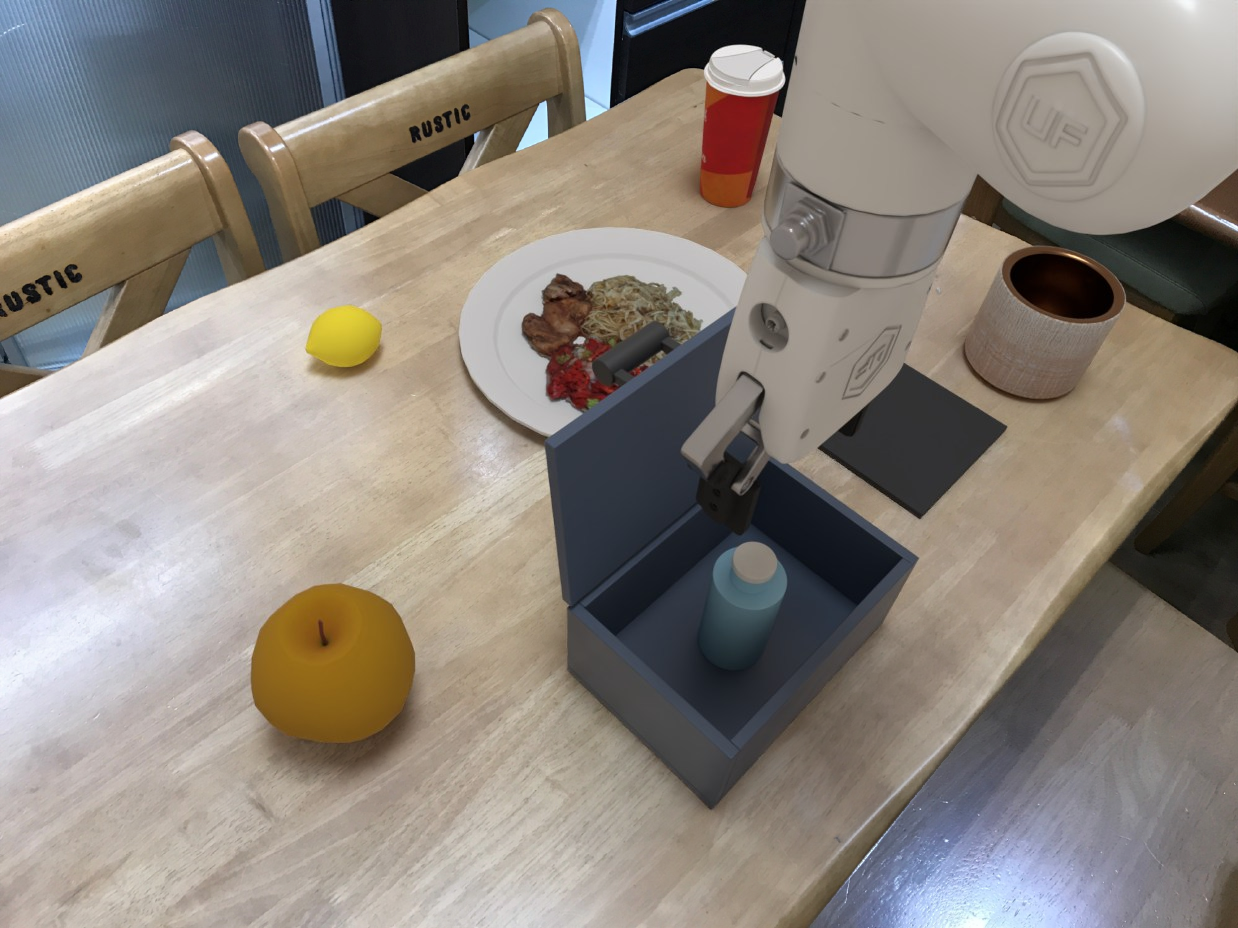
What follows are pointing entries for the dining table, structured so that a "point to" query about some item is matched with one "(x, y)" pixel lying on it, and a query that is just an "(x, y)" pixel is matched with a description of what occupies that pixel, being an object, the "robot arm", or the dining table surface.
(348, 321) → the lemon
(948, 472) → the mat
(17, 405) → the dining table surface
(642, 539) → the lid
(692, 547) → the chest
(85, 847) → the dining table surface
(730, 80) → the coffee cup
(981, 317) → the planter
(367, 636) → the apple
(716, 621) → the bottle
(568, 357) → the plated food
